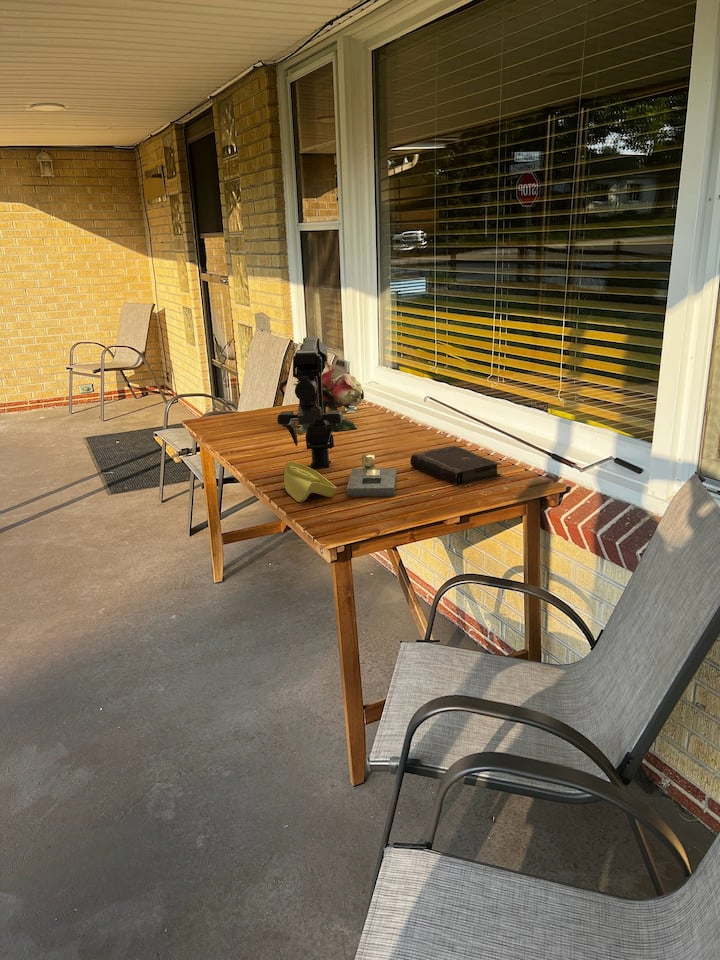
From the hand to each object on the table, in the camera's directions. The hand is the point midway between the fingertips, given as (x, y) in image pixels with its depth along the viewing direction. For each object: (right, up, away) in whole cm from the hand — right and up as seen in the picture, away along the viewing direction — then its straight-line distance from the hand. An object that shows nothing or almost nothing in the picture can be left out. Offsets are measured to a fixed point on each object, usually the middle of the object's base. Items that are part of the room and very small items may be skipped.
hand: (311, 445), depth 217 cm
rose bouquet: (0, +12, +85) cm, 86 cm away
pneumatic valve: (+10, +20, +107) cm, 109 cm away
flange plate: (+18, -12, +6) cm, 23 cm away
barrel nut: (+17, -8, +19) cm, 27 cm away
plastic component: (-1, -14, +3) cm, 15 cm away
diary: (+45, -8, +17) cm, 49 cm away
